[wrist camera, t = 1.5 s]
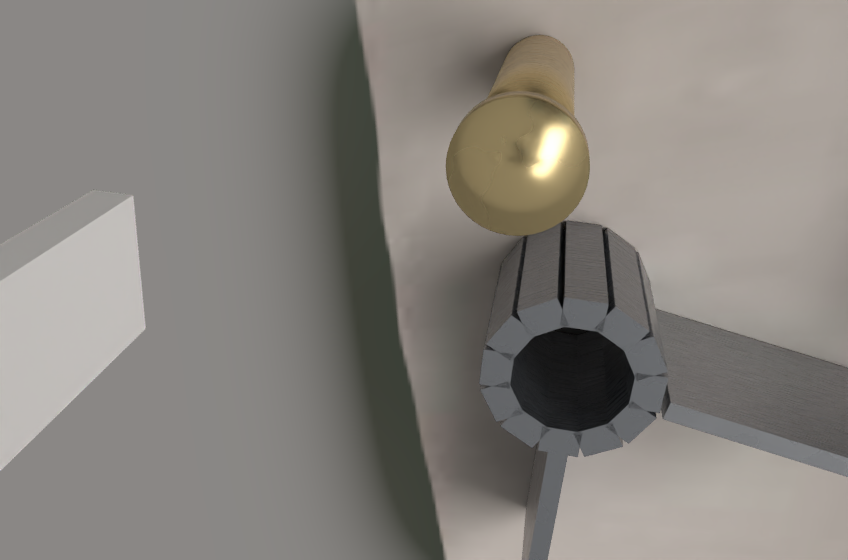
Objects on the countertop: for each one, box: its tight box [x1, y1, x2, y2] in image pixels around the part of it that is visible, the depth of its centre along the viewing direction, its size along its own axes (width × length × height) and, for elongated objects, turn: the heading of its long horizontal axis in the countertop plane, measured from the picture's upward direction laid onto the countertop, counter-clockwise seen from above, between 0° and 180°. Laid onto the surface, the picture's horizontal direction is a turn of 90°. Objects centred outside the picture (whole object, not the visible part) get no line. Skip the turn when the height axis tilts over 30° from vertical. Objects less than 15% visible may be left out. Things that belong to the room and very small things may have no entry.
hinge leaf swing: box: [655, 309, 848, 477], centre depth 34 cm, size 10×1×8 cm, turn 76°
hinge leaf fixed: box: [479, 221, 668, 560], centre depth 36 cm, size 17×7×8 cm, turn 176°
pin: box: [446, 35, 590, 236], centre depth 27 cm, size 4×4×14 cm
